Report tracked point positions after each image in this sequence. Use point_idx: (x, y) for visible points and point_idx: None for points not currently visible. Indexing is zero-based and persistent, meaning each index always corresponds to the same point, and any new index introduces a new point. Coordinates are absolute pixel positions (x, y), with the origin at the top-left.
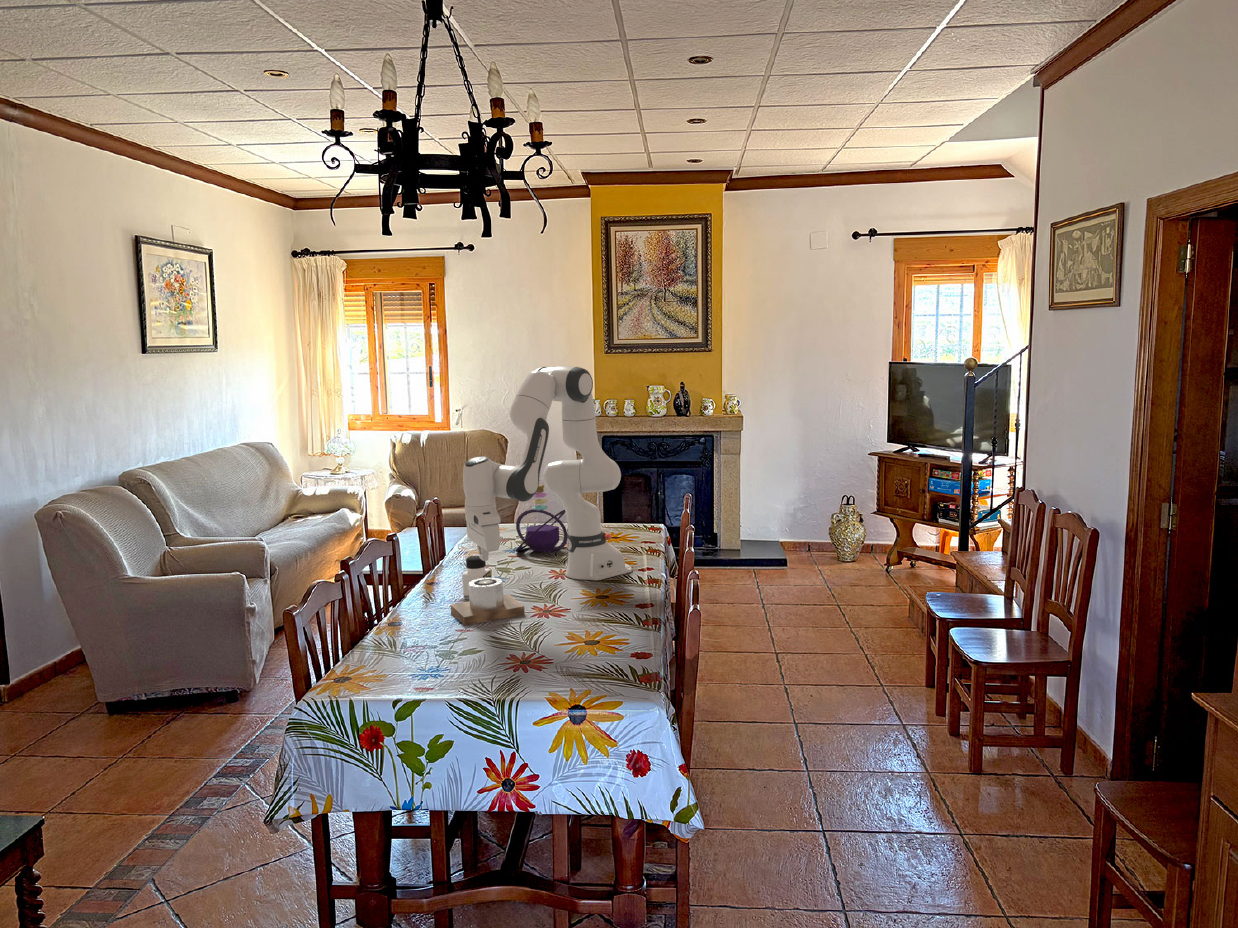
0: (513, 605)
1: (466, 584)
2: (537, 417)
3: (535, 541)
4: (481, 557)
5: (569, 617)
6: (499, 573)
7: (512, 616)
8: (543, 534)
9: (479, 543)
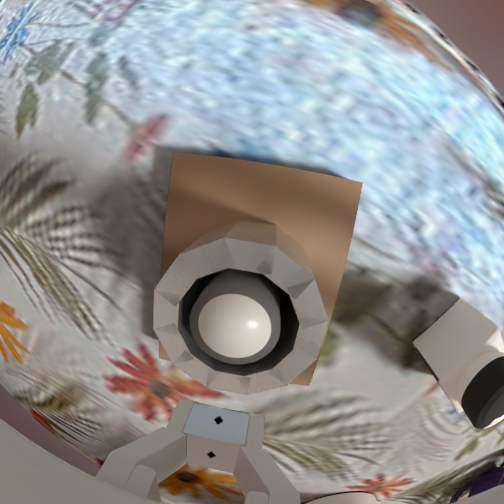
0: None
1: (470, 321)
2: None
3: (491, 483)
4: (200, 416)
5: (96, 386)
6: None
7: None
8: None
9: (59, 493)
